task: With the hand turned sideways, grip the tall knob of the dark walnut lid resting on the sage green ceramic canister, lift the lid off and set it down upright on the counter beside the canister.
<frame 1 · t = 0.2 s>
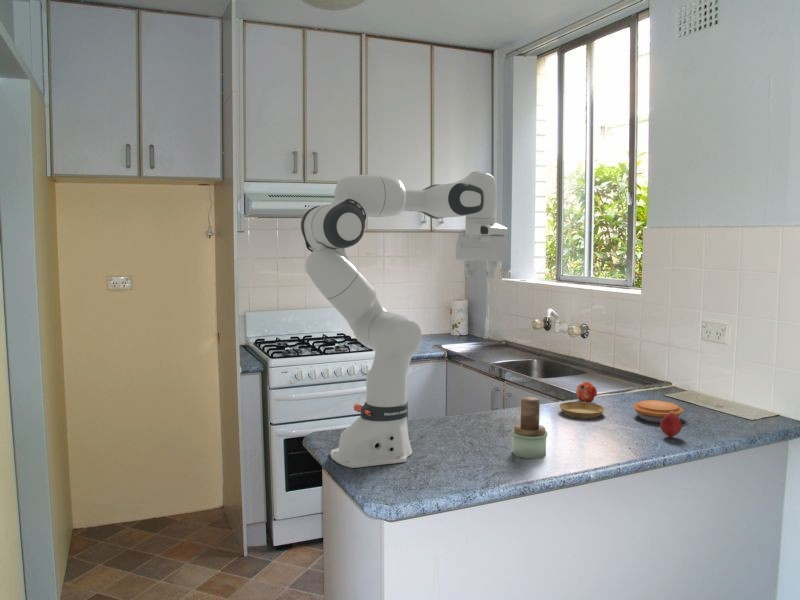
hand: (479, 276, 196), 48 cm above the counter, tool pointing down, fingers open, 8 cm apart
pie: (657, 419, 221), on the counter
lid: (529, 432, 185), point 6 cm above the counter, touching canister
onion: (670, 438, 200), on the counter
pomegranate: (586, 402, 242), on the counter
canister: (529, 453, 186), on the counter
plant saucer: (581, 415, 226), on the counter
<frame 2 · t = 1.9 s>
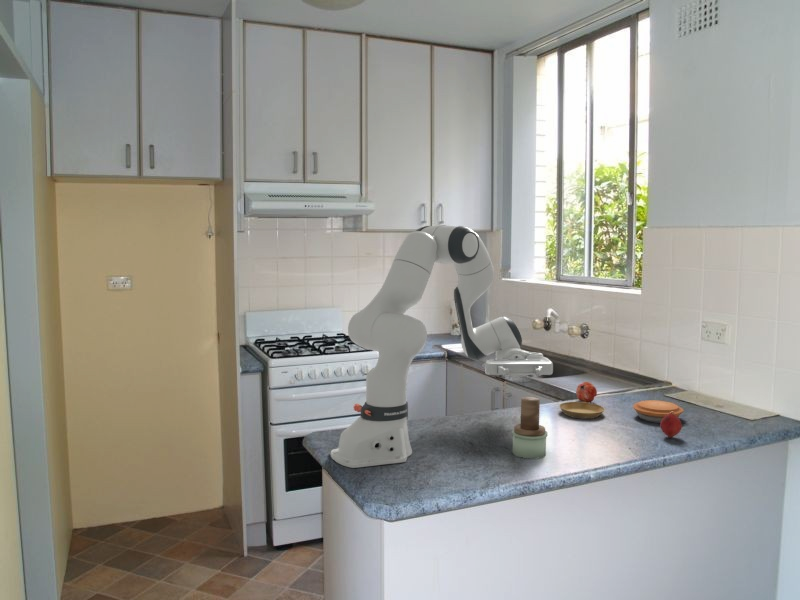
hand: (522, 372, 196), 20 cm above the counter, tool horizontal, fingers open, 8 cm apart
nothing on the counter moved.
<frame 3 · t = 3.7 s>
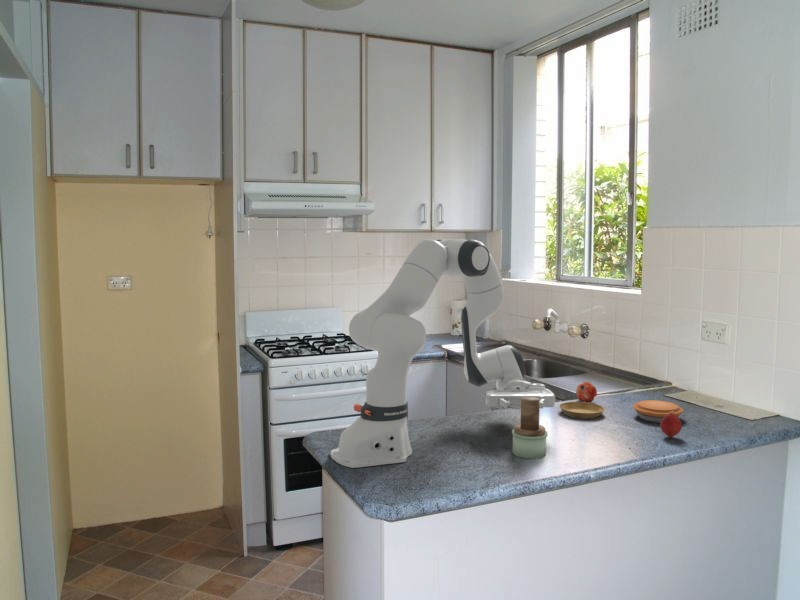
hand: (524, 405, 192), 11 cm above the counter, tool horizontal, fingers open, 8 cm apart
nothing on the counter moved.
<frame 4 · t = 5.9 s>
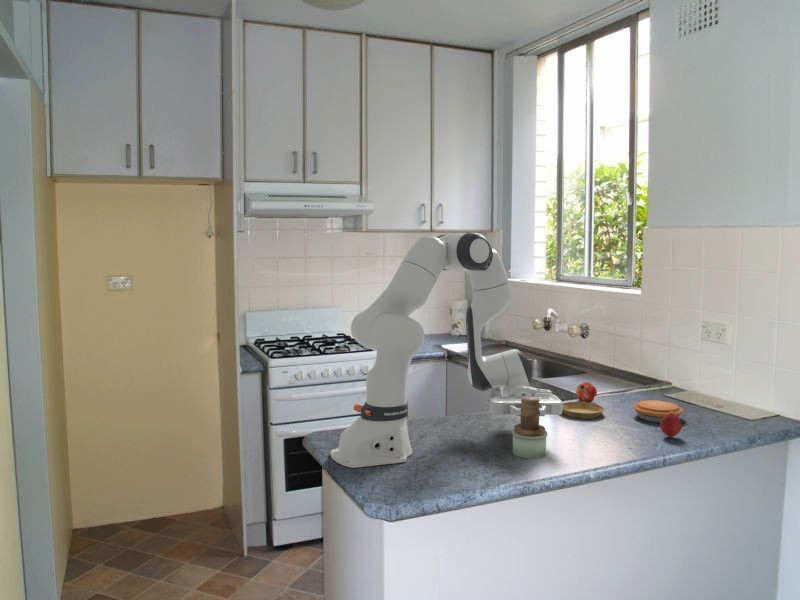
hand: (530, 413, 184), 12 cm above the counter, tool horizontal, fingers closed on lid, 5 cm apart
lid: (529, 432, 185), point 6 cm above the counter, touching canister, gripper
everything else where it was.
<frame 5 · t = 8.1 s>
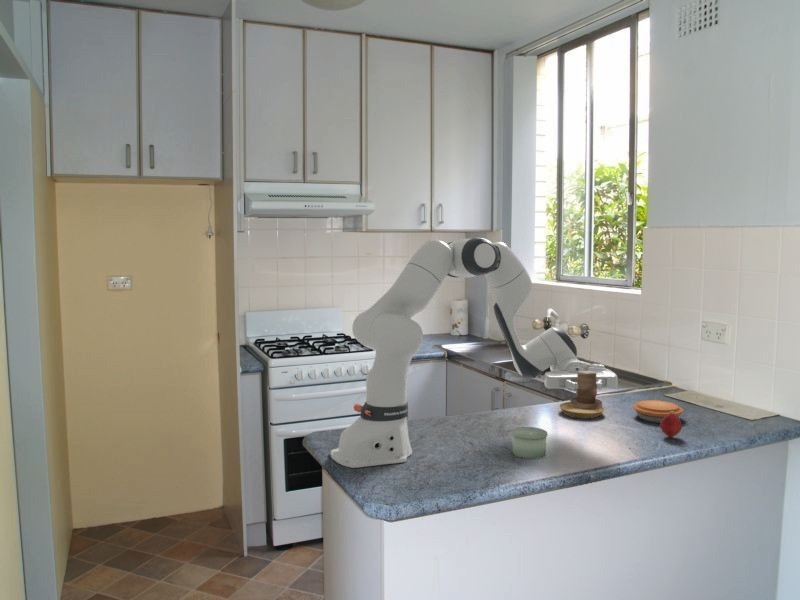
hand: (587, 386, 184), 19 cm above the counter, tool horizontal, fingers closed on lid, 5 cm apart
lid: (586, 405, 186), point 13 cm above the counter, touching gripper
everything else where it was.
when the fingers open (7 cm above the counter, at t = 10.8 s): lid drops 2 cm, on the counter.
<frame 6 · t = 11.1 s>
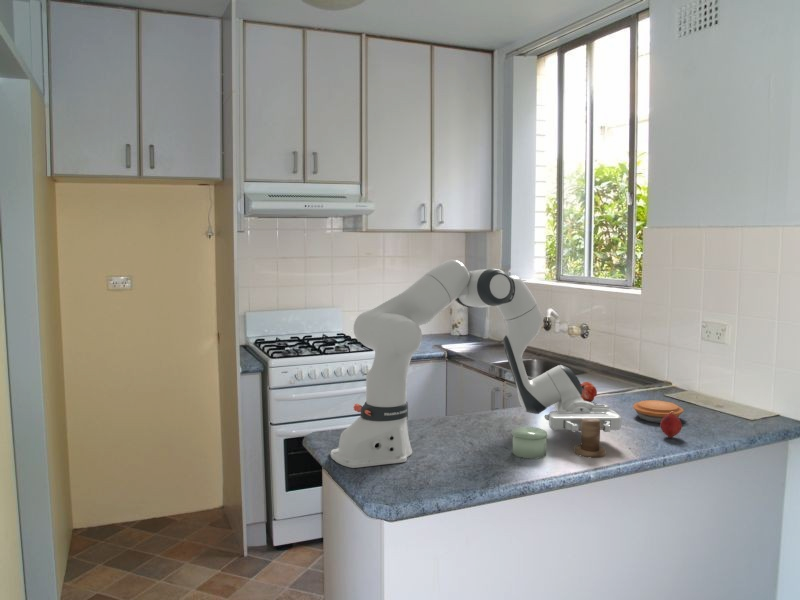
hand: (591, 429, 185), 7 cm above the counter, tool horizontal, fingers open, 7 cm apart
lid: (589, 452, 187), on the counter
everything else where it was.
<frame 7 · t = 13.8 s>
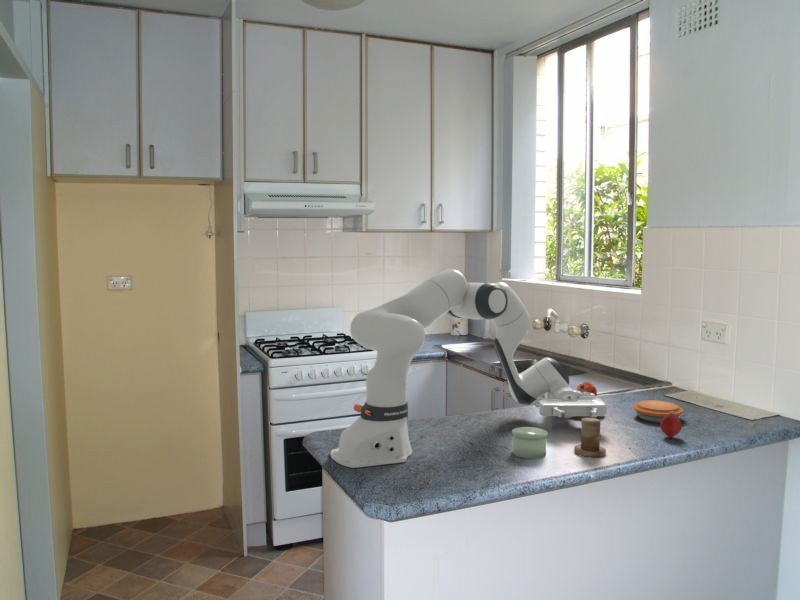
hand: (578, 414, 198), 7 cm above the counter, tool horizontal, fingers open, 8 cm apart
nothing on the counter moved.
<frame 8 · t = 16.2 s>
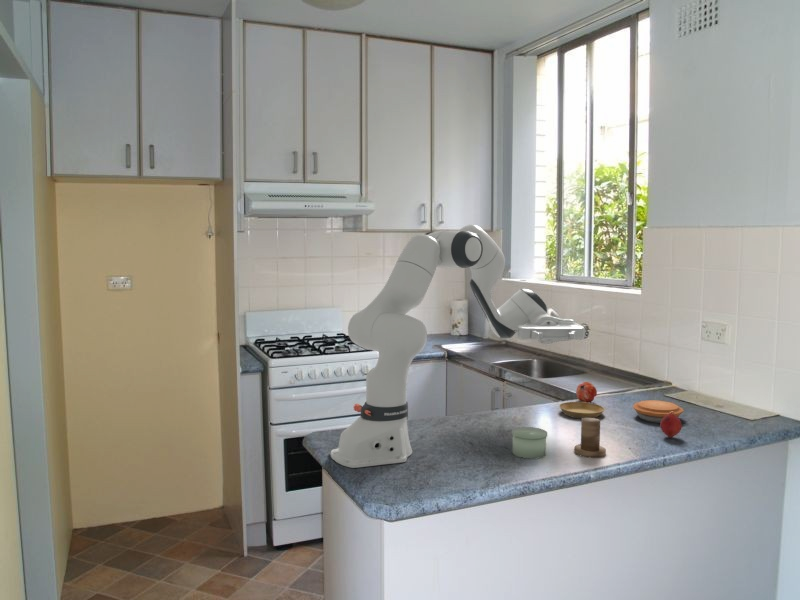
hand: (556, 336, 200), 30 cm above the counter, tool horizontal, fingers open, 8 cm apart
nothing on the counter moved.
at the end: lid inside the target area (0.0 cm from its centre), on the counter; lid tilted 0°; the gripper is holding nothing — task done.
